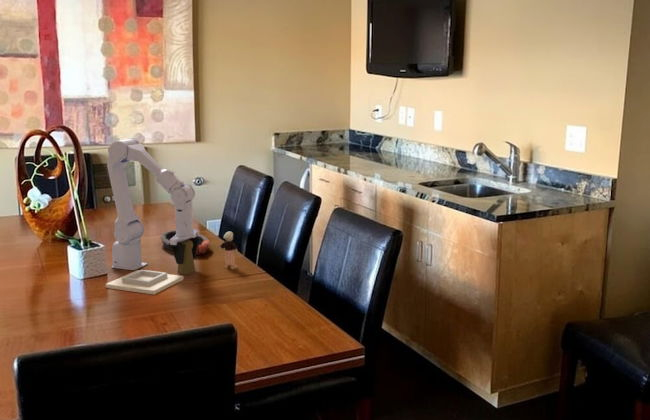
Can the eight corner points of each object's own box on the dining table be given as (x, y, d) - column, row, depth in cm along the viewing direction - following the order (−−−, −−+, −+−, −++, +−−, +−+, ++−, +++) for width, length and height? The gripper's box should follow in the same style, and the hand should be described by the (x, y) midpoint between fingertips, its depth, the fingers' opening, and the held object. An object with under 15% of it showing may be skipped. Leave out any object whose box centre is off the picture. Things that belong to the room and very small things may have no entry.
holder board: (105, 287, 213) (105, 279, 212) (137, 273, 227) (137, 265, 227) (154, 294, 206) (153, 286, 206) (183, 279, 221) (183, 271, 220)
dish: (190, 238, 276) (189, 226, 275) (220, 255, 250) (219, 242, 249) (152, 243, 268) (152, 230, 267) (180, 261, 242) (179, 248, 241)
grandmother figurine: (242, 266, 235) (241, 231, 232) (237, 269, 232) (236, 233, 229) (222, 264, 238) (221, 229, 235) (217, 267, 234) (215, 231, 231)
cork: (191, 274, 226) (189, 242, 224) (174, 273, 227) (172, 241, 225) (198, 269, 232) (196, 238, 229) (181, 268, 233) (180, 237, 231)
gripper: (182, 227, 218) (184, 267, 221) (206, 218, 231) (207, 256, 234) (163, 225, 220) (166, 265, 223) (188, 216, 234) (190, 254, 236)
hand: (186, 260), depth 229 cm, fingers open, 7 cm apart
